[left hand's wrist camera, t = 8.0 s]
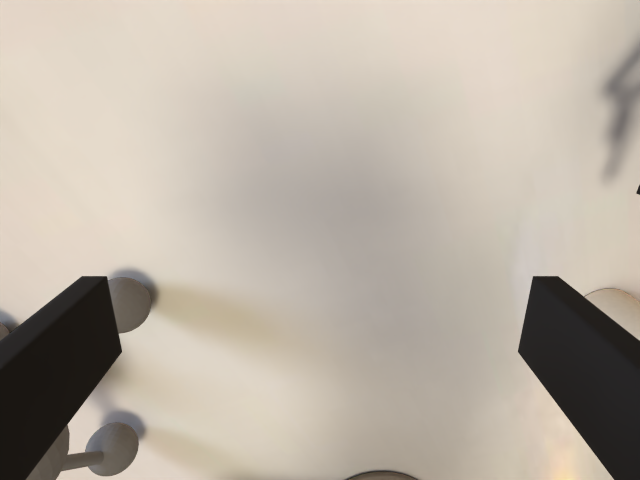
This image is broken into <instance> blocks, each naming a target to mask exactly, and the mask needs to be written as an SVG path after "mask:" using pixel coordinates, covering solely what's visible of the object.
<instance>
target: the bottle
mask: <svg viewBox="0 0 640 480" xmlns="http://www.w3.org/2000/svg"><path fill="white" fill-rule="evenodd" d="M585 298H586V299H587V300H589V301H590V302H591V303H592V304H594V305H595V306H596V307H598V308H599V309H600V310H601V311H603V312H604V313H605V314H606V315H608V316H609V317H610V318H611V319H613V320H614V321H615V322H617V323H618V324H619V325H620V326H622V327H623V328H624V329H625V330H627V331H628V332H629V333H631V334H632V335H633V336H634V337H636V338H637V339H638V340H639V341H640V302H639V301H638V300H636V299H635V298H633V297H632V296H630V295H629V294H627V293H626V292H624V291H622V290H618V289H601V290H598V291H595V292H592V293H590V294H588V295H587V296H585Z"/></svg>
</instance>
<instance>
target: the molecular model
mask: <svg viewBox="0 0 640 480" xmlns="http://www.w3.org/2000/svg"><path fill="white" fill-rule="evenodd" d="M108 284H109V289H110V294H111V299H112V304H113V309H114V314H115V319H116V324H117V329H118V333H126V332H129V331H132V330H134V329H136V328H137V327H139V326H140V325H141V324H142V323H143V322H144V321H145V320H146V318H147V317H148V315H149V312H150V308H151V298H150V295H149V293H148V291H147V289H146V288H145V287H144V286H143V285H142V284H141V283H140V282H138V281H136V280H134V279H130V278H115V279H111V280H109V281H108ZM8 334H9V331H8V329H7V328H6V327H5V326H4V325H3V324H2V323H1V322H0V341H1V340H2V339H3V338H4V337H6V336H7V335H8ZM138 445H139V443H138V437H137V434H136V432H135V431H134V430H133V429H132V428H131V427H130V426H128V425H126V424H124V423H111V424H107V425H105V426H103V427H101V428H100V429H99V430H97V431H96V432H95V433H94V434H93V435H92V437H91V438H90V439H89V441H88V443H87V446H86V450H85V452H84V453H77V454H70V455H67V454H68V450H69V429H68V425H67V426H66V427H65V428H64V430H63V431H62V432H61V433H60V435H59V436H58V437H57V439H56V440H55V441H54V443H53V444H52V445H51V447H50V448H49V449H48V451H47V452H46V453H45V455H44V456H43V457H42V459H41V460H40V461H39V463H38V464H37V465H36V467H35V468H34V469H33V471H32V472H31V473H30V475H29V476H28V477H27V479H26V480H56V478H57V477H58V475H59V474H60V472H61V471H65V470H71V469H76V468H81V467H87V466H88V467H89V469H90V470H91V471H92V472H93V473H95V474H97V475H100V476H113V475H116V474H118V473H120V472H122V471H124V470H125V469H126V468H127V467H128V466H129V465H130V464H131V463H132V462H133V460H134V459H135V457H136V454H137V451H138Z"/></svg>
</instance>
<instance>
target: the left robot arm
mask: <svg viewBox="0 0 640 480" xmlns="http://www.w3.org/2000/svg"><path fill="white" fill-rule="evenodd" d="M121 352H122V349H121V344H120V339H119V334H118V329H117V324H116V319H115V314H114V309H113V304H112V299H111V294H110V289H109V284H108V280H107V276H82V277H81V278H79V279H78V280H77V281H75V282H74V283H73V284H72V285H70V286H69V287H68V288H67V289H65V290H64V291H63V292H61V293H60V294H59V295H58V296H56V297H55V298H54V299H53V300H51V301H50V302H49V303H48V304H46V305H45V306H44V307H42V308H41V309H40V310H39V311H37V312H36V313H35V314H34V315H32V316H31V317H30V318H29V319H27V320H26V321H25V322H23V323H22V324H21V325H20V326H18V327H17V328H16V329H15V330H13V331H12V332H11V333H9V334H8V335H7V336H6V337H4V338H3V339H2V340H1V341H0V480H26V479H27V477H28V476H29V475H30V473H31V472H32V471H33V469H34V468H35V467H36V465H37V464H38V463H39V461H40V460H41V459H42V457H43V456H44V455H45V453H46V452H47V451H48V449H49V448H50V447H51V445H52V444H53V443H54V441H55V440H56V439H57V437H58V436H59V435H60V433H61V432H62V431H63V430H64V428H65V427H66V426H67V424H68V423H69V422H70V420H71V419H72V418H73V416H74V415H75V414H76V412H77V411H78V410H79V408H80V407H81V406H82V404H83V403H84V402H85V400H86V399H87V398H88V396H89V395H90V394H91V392H92V391H93V390H94V388H95V387H96V386H97V384H98V383H99V382H100V380H101V379H102V378H103V376H104V375H105V374H106V372H107V371H108V370H109V368H110V367H111V366H112V364H113V363H114V362H115V360H116V359H117V358H118V356H119V355H120V354H121ZM518 352H519V354H520V355H521V356H522V358H523V359H524V360H525V362H526V363H527V364H528V366H529V367H530V368H531V370H532V371H533V372H534V374H535V375H536V376H537V378H538V379H539V380H540V382H541V383H542V384H543V386H544V387H545V388H546V390H547V391H548V392H549V394H550V395H551V396H552V398H553V399H554V400H555V402H556V403H557V404H558V406H559V407H560V408H561V410H562V411H563V412H564V414H565V415H566V416H567V418H568V419H569V420H570V422H571V423H572V424H573V426H574V427H575V428H576V430H577V431H578V432H579V433H580V435H581V436H582V437H583V439H584V440H585V441H586V443H587V444H588V445H589V447H590V448H591V449H592V451H593V452H594V453H595V455H596V456H597V457H598V459H599V460H600V461H601V463H602V464H603V465H604V467H605V468H606V469H607V471H608V472H609V473H610V475H611V476H612V477H613V479H614V480H640V341H639V340H638V339H637V338H636V337H634V336H633V335H632V334H631V333H629V332H628V331H627V330H625V329H624V328H623V327H622V326H620V325H619V324H618V323H617V322H615V321H614V320H613V319H611V318H610V317H609V316H608V315H606V314H605V313H604V312H603V311H601V310H600V309H599V308H598V307H596V306H595V305H594V304H592V303H591V302H590V301H589V300H587V299H586V298H585V297H584V296H582V295H581V294H580V293H579V292H577V291H576V290H575V289H573V288H572V287H571V286H570V285H568V284H567V283H566V282H565V281H563V280H562V279H561V278H559V277H558V276H533V280H532V284H531V289H530V294H529V299H528V304H527V309H526V314H525V319H524V324H523V329H522V334H521V339H520V344H519V349H518ZM348 480H416V479H414V478H412V477H409V476H406V475H403V474H399V473H394V472H371V473H366V474H361V475H358V476H355V477H353V478H350V479H348Z"/></svg>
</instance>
